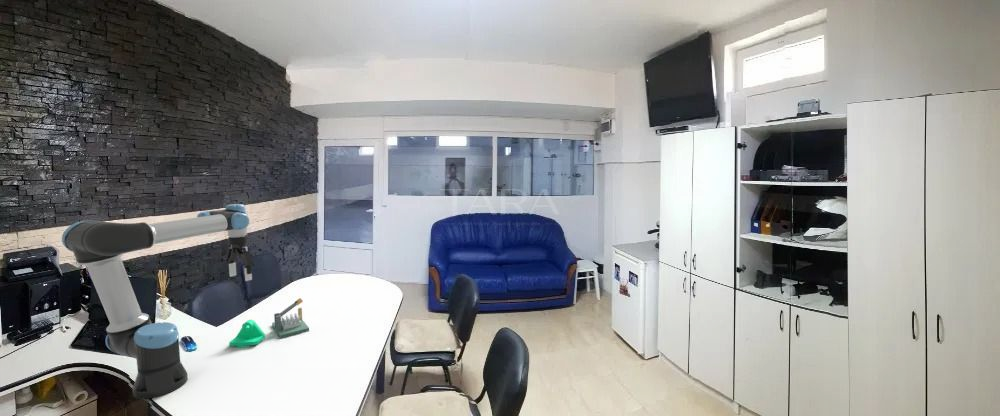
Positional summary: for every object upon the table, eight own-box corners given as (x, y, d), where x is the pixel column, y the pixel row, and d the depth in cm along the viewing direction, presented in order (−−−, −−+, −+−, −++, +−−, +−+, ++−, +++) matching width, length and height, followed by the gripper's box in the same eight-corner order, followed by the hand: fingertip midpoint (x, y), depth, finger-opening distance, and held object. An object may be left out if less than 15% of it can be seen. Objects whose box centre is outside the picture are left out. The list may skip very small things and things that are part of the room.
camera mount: (228, 348, 164) (227, 327, 163) (238, 340, 171) (237, 320, 170) (256, 347, 166) (255, 326, 164) (265, 339, 173) (263, 319, 172)
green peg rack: (309, 330, 183) (308, 314, 182) (280, 338, 174) (279, 321, 173) (299, 318, 196) (298, 303, 196) (272, 325, 188) (271, 309, 187)
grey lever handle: (303, 301, 186) (301, 299, 186) (277, 320, 179) (275, 318, 178) (301, 299, 189) (299, 297, 189) (276, 318, 182) (274, 315, 181)
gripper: (261, 237, 170) (263, 279, 172) (232, 232, 181) (235, 272, 183) (243, 239, 163) (247, 284, 166) (215, 234, 174) (218, 276, 177)
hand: (240, 278), depth 175 cm, fingers open, 13 cm apart
